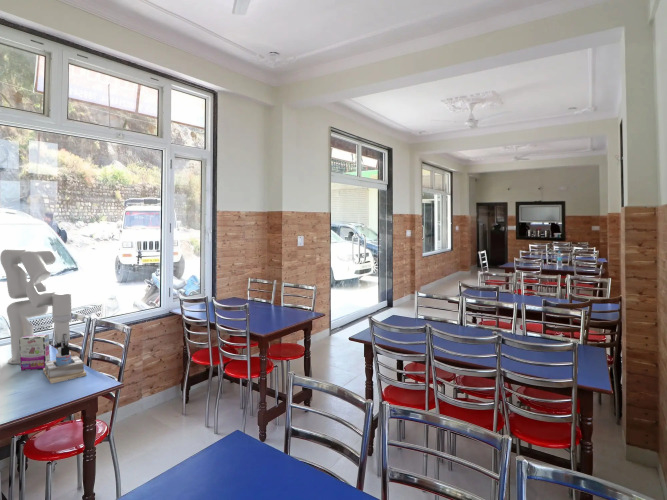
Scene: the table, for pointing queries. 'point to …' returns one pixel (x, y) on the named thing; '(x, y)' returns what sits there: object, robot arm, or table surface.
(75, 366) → the collar block
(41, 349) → the candy bar box
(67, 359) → the pill bottle
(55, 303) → the robot arm
